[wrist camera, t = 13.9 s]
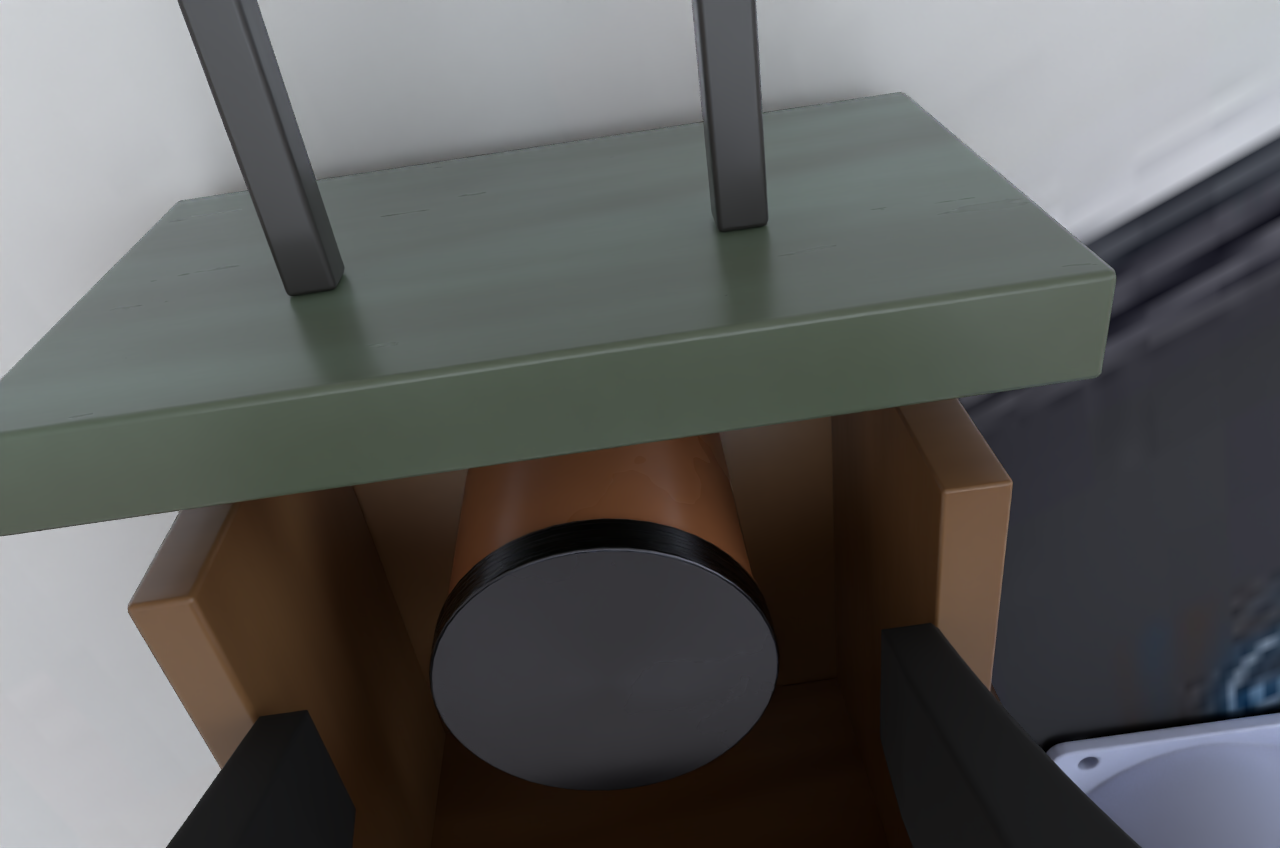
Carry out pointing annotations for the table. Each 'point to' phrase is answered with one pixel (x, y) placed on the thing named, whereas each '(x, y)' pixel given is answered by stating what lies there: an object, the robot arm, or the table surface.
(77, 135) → the table surface
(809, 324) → the drawer
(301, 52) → the table surface
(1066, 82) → the table surface
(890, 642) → the robot arm
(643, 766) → the spice tin
